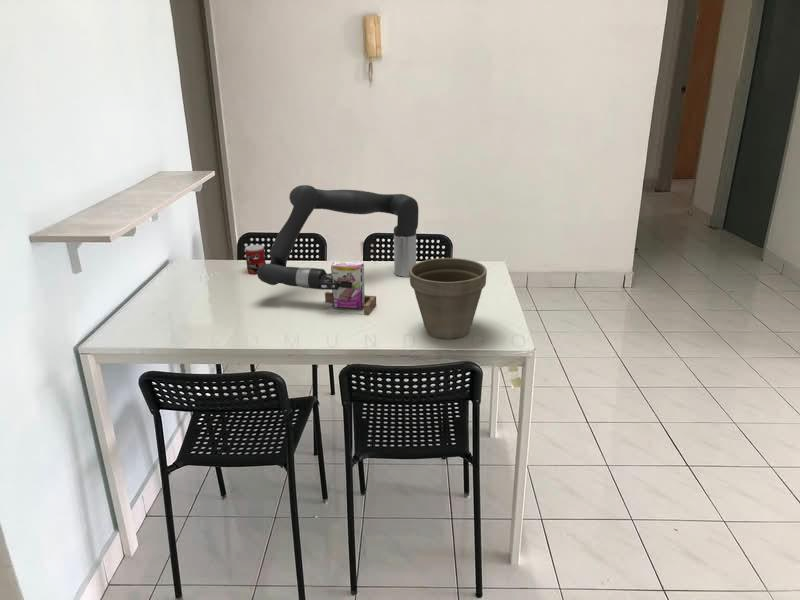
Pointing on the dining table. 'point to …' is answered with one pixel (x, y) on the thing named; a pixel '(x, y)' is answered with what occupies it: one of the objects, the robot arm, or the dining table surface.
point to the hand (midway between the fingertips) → (354, 282)
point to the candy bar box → (348, 296)
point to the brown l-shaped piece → (368, 306)
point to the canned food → (254, 257)
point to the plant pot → (447, 294)
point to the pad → (347, 310)
